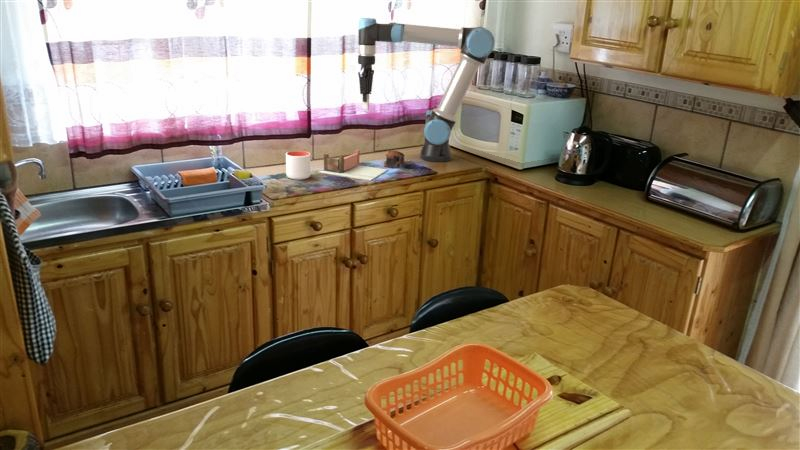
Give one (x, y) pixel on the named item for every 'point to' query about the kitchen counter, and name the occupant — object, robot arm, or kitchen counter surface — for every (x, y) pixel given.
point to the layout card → (358, 172)
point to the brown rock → (394, 159)
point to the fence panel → (351, 160)
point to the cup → (298, 165)
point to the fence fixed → (334, 163)
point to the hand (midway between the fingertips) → (365, 108)
